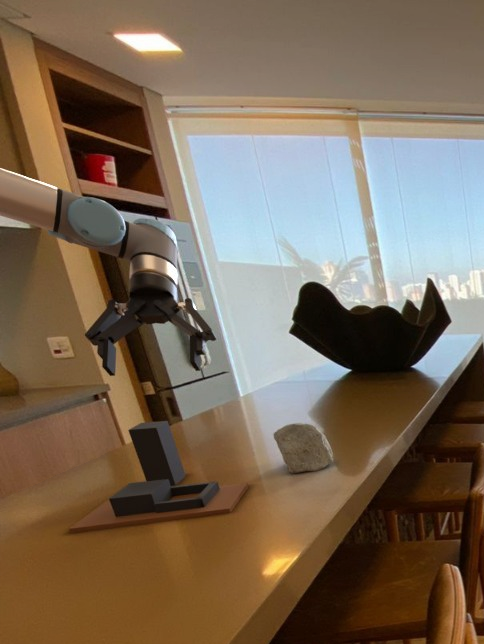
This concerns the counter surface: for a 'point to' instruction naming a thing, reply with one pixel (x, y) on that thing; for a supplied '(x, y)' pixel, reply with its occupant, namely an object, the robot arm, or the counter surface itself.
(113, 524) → the dock mat
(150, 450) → the tall black block
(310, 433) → the decorative stone
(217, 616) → the counter surface
